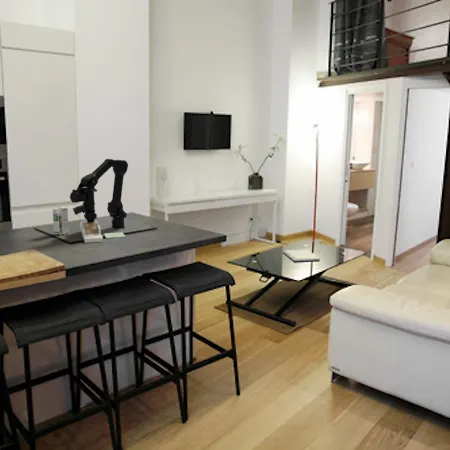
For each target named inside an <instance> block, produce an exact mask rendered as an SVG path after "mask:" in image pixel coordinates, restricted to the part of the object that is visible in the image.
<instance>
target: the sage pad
mask: <svg viewBox="0 0 450 450" xmlns="http://www.w3.org/2000/svg"><path fill="white" fill-rule="evenodd" d="M103 234H104V236H105V239H107V240H108V239H119V238H126V235H125V234H124V233H123V232H122V231H121V232H108V233H107V232H105V233H103Z"/></svg>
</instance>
